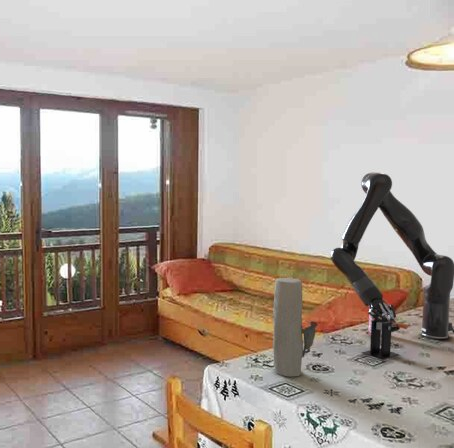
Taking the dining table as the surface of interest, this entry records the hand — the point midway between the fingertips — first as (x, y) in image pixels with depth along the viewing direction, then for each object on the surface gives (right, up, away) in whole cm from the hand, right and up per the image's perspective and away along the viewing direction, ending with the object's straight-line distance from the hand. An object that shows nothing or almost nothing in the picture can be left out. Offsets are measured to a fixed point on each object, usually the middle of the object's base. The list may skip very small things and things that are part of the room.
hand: (396, 330), depth 181 cm
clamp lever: (-4, +1, -3) cm, 6 cm away
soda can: (+2, -7, +19) cm, 21 cm away
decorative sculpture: (-44, -9, -22) cm, 50 cm away
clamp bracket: (-8, -8, -5) cm, 13 cm away
